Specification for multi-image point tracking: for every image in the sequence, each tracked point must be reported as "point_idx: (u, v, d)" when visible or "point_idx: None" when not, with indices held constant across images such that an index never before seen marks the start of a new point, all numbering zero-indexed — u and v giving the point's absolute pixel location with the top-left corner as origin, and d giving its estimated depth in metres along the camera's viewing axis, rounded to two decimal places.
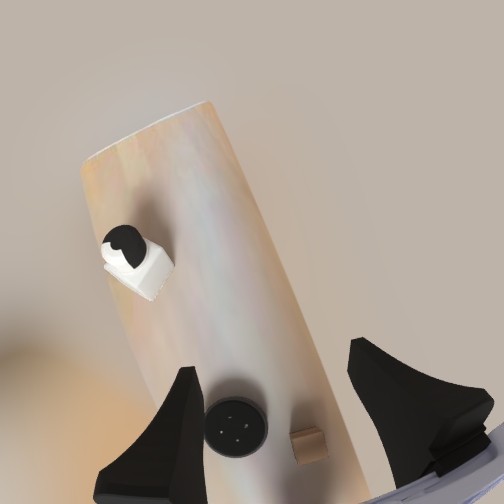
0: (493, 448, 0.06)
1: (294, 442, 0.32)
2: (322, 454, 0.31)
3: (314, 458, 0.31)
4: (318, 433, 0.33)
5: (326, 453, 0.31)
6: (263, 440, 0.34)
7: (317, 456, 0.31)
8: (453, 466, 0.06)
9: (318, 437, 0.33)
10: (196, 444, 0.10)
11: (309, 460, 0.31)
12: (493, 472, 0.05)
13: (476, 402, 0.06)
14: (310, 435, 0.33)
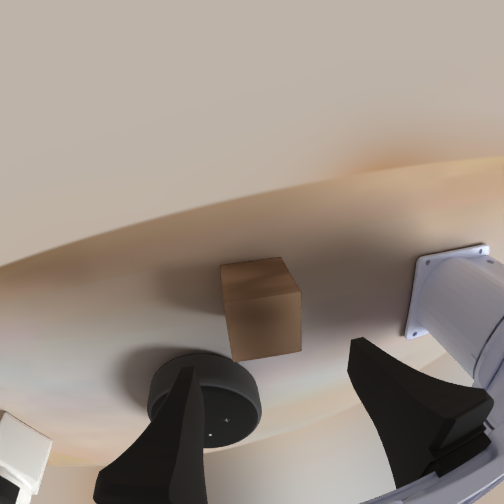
0: (493, 448, 0.06)
1: (241, 359, 0.17)
2: (288, 306, 0.16)
3: (293, 323, 0.16)
4: (228, 312, 0.15)
5: (288, 297, 0.16)
6: (230, 387, 0.19)
7: (289, 316, 0.16)
8: (453, 466, 0.06)
9: (237, 314, 0.15)
10: (196, 444, 0.10)
11: (293, 333, 0.16)
12: (493, 472, 0.05)
13: (476, 402, 0.06)
14: (230, 328, 0.16)
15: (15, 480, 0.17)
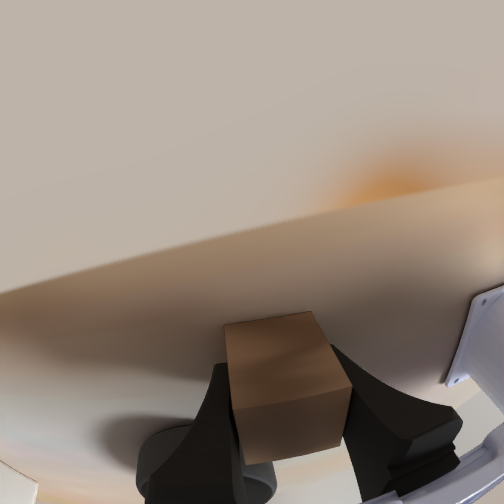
0: (493, 448, 0.06)
1: (257, 461, 0.10)
2: (331, 404, 0.09)
3: (334, 421, 0.10)
4: (240, 419, 0.09)
5: (333, 394, 0.09)
6: None
7: (331, 415, 0.09)
8: (414, 487, 0.06)
9: (254, 420, 0.09)
10: (236, 440, 0.10)
11: (333, 430, 0.10)
12: (493, 472, 0.05)
13: (438, 423, 0.06)
14: (242, 435, 0.09)
15: None
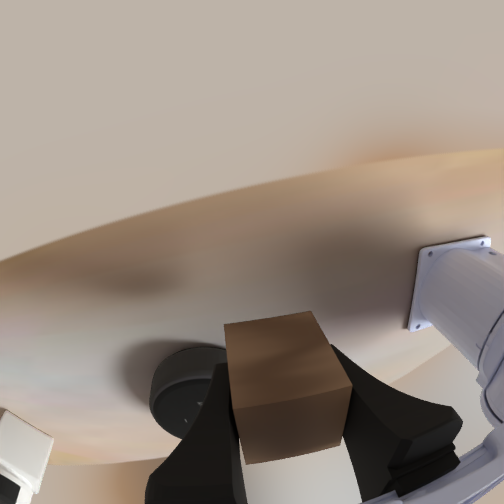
0: (493, 448, 0.06)
1: (257, 461, 0.10)
2: (331, 404, 0.09)
3: (334, 420, 0.10)
4: (240, 419, 0.09)
5: (333, 394, 0.09)
6: None
7: (331, 415, 0.09)
8: (414, 487, 0.06)
9: (255, 420, 0.09)
10: (236, 440, 0.10)
11: (333, 430, 0.10)
12: (493, 472, 0.05)
13: (439, 422, 0.06)
14: (242, 434, 0.09)
15: (16, 479, 0.17)
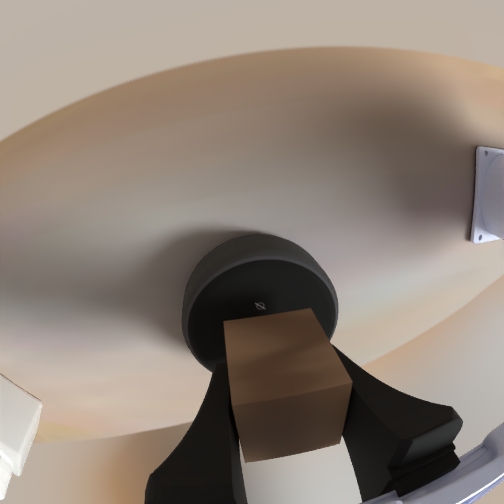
0: (493, 448, 0.06)
1: (256, 459, 0.10)
2: (331, 401, 0.09)
3: (334, 418, 0.10)
4: (239, 415, 0.09)
5: (333, 391, 0.09)
6: (307, 265, 0.15)
7: (331, 412, 0.09)
8: (414, 487, 0.06)
9: (254, 416, 0.09)
10: (236, 440, 0.10)
11: (333, 428, 0.10)
12: (493, 472, 0.05)
13: (439, 422, 0.06)
14: (241, 432, 0.09)
15: None
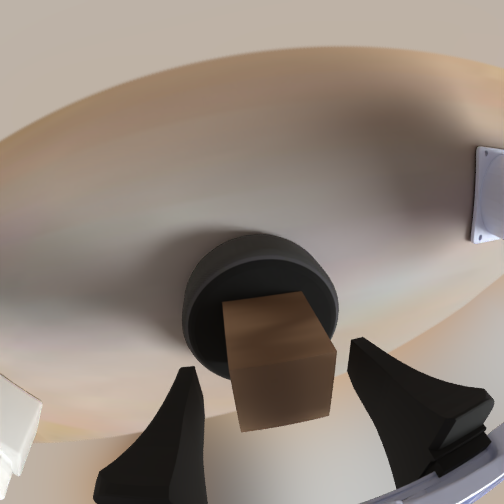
0: (493, 448, 0.06)
1: (251, 429, 0.12)
2: (318, 369, 0.11)
3: (322, 387, 0.11)
4: (235, 381, 0.10)
5: (319, 359, 0.11)
6: (307, 264, 0.15)
7: (319, 381, 0.11)
8: (453, 466, 0.06)
9: (248, 382, 0.11)
10: (196, 444, 0.10)
11: (322, 398, 0.11)
12: (494, 472, 0.05)
13: (476, 403, 0.06)
14: (237, 398, 0.11)
15: None
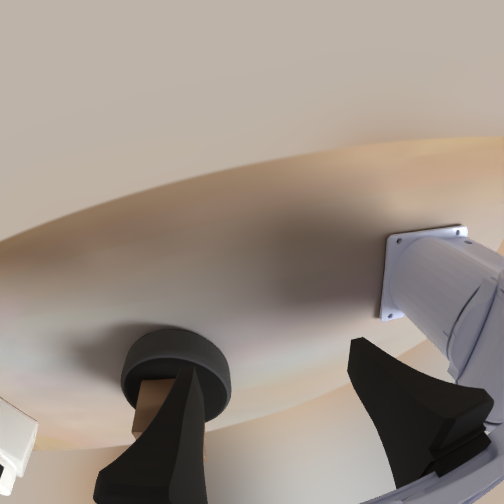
0: (493, 448, 0.06)
1: None
2: None
3: None
4: (137, 437, 0.15)
5: None
6: (196, 360, 0.20)
7: None
8: (453, 466, 0.06)
9: None
10: (196, 444, 0.10)
11: None
12: (493, 472, 0.05)
13: (476, 402, 0.06)
14: None
15: (0, 459, 0.17)
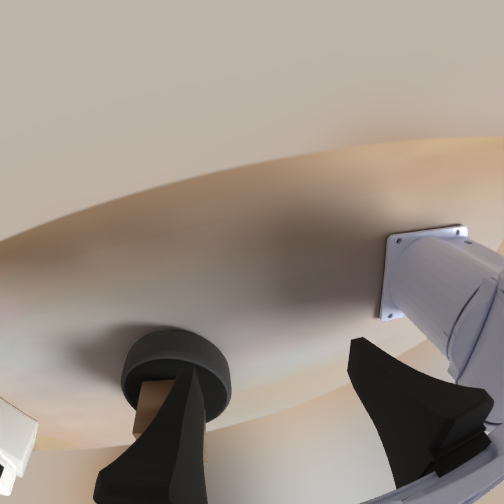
0: (493, 448, 0.06)
1: None
2: None
3: None
4: None
5: None
6: (196, 361, 0.20)
7: None
8: (453, 466, 0.06)
9: None
10: (196, 444, 0.10)
11: None
12: (493, 472, 0.05)
13: (476, 402, 0.06)
14: None
15: (0, 459, 0.17)
